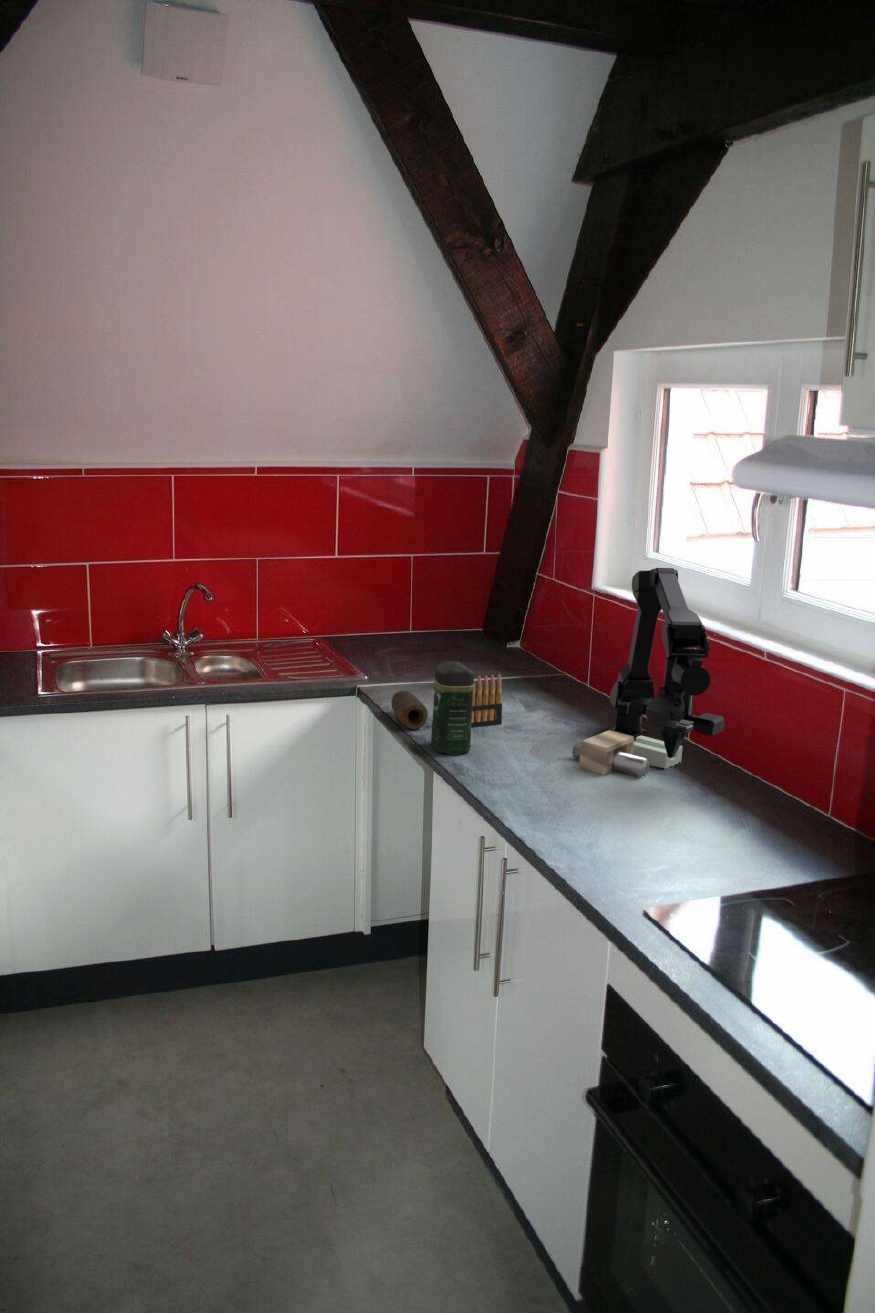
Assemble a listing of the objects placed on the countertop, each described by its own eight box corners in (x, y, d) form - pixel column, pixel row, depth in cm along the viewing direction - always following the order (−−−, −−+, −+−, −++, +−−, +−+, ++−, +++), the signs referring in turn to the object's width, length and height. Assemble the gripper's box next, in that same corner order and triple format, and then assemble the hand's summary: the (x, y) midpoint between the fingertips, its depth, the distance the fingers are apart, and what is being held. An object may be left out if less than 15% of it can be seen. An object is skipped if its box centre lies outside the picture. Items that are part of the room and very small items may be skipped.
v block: (639, 750, 239) (640, 735, 239) (681, 762, 233) (682, 746, 232) (622, 757, 234) (624, 742, 233) (665, 769, 228) (666, 753, 227)
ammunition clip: (497, 722, 255) (500, 672, 253) (501, 724, 254) (505, 674, 251) (457, 726, 251) (459, 675, 248) (461, 729, 249) (463, 677, 246)
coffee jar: (474, 755, 231) (479, 669, 227) (437, 756, 229) (441, 670, 225) (463, 741, 240) (467, 658, 236) (427, 742, 239) (431, 658, 234)
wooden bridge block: (607, 756, 235) (609, 730, 233) (631, 763, 231) (634, 736, 230) (579, 767, 227) (581, 741, 225) (604, 775, 223) (606, 748, 221)
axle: (571, 761, 232) (572, 743, 231) (582, 755, 235) (583, 738, 234) (638, 780, 222) (640, 761, 221) (648, 774, 225) (650, 756, 224)
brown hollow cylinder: (432, 731, 246) (434, 702, 245) (402, 733, 244) (403, 704, 243) (414, 712, 260) (415, 685, 259) (385, 713, 258) (386, 686, 257)
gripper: (615, 679, 215) (609, 755, 218) (703, 699, 203) (694, 779, 207) (644, 669, 223) (637, 743, 227) (729, 688, 212) (721, 765, 215)
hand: (670, 757), depth 219 cm, fingers closed
